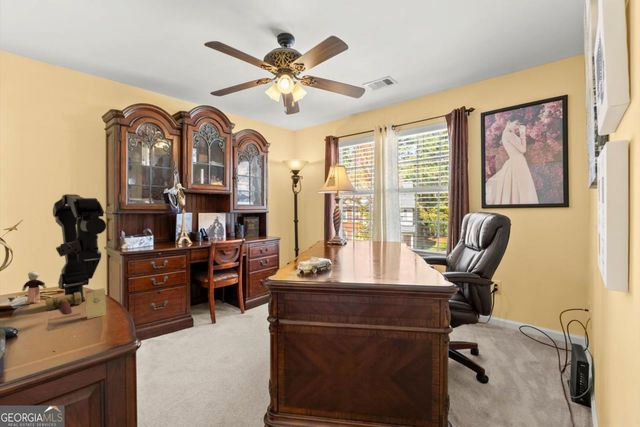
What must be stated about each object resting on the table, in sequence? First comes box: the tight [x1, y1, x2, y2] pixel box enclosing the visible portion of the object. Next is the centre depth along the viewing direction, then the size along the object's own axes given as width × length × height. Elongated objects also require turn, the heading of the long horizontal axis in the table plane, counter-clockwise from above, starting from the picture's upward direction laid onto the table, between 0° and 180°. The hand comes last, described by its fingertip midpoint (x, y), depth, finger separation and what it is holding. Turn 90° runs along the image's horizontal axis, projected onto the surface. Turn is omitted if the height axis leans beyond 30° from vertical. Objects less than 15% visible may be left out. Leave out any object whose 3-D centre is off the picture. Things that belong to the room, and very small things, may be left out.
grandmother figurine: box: [21, 271, 47, 305], centre depth 118 cm, size 8×4×13 cm, turn 120°
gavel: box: [45, 292, 82, 316], centre depth 107 cm, size 21×5×10 cm
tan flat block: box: [47, 313, 83, 332], centre depth 94 cm, size 12×8×2 cm
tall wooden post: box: [85, 287, 107, 320], centre depth 99 cm, size 3×5×10 cm
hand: (89, 276), depth 106 cm, fingers open, 9 cm apart
